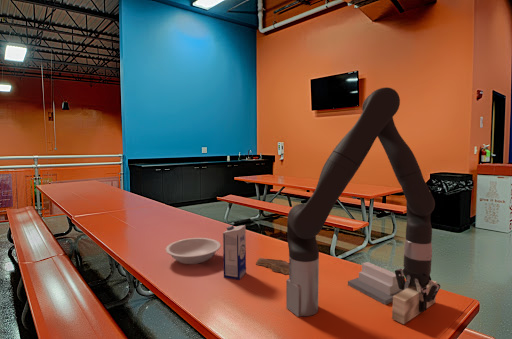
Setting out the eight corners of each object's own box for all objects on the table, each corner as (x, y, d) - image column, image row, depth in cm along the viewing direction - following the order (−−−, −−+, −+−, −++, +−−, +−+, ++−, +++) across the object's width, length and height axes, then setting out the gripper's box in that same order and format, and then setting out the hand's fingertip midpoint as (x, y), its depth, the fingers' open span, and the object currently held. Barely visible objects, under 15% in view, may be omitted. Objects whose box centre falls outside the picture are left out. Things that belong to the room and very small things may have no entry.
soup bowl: (195, 247, 155) (194, 234, 154) (232, 257, 141) (231, 243, 140) (154, 263, 135) (154, 248, 135) (192, 277, 122) (192, 261, 121)
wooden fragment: (249, 263, 136) (249, 260, 135) (266, 256, 143) (266, 253, 143) (297, 281, 118) (297, 279, 117) (313, 272, 125) (313, 270, 125)
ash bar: (403, 324, 89) (404, 301, 88) (392, 318, 92) (392, 296, 91) (435, 302, 101) (436, 281, 100) (424, 297, 104) (425, 277, 103)
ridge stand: (385, 304, 100) (386, 282, 99) (347, 284, 114) (348, 265, 113) (411, 293, 107) (412, 273, 106) (373, 276, 121) (374, 257, 120)
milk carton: (239, 280, 118) (238, 229, 116) (223, 277, 121) (222, 227, 119) (246, 272, 125) (245, 224, 123) (231, 270, 127) (230, 223, 125)
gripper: (389, 249, 99) (387, 300, 101) (433, 265, 87) (430, 323, 88) (404, 245, 103) (401, 294, 104) (448, 260, 90) (445, 315, 92)
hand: (414, 307), depth 96 cm, fingers closed on ash bar, 4 cm apart
